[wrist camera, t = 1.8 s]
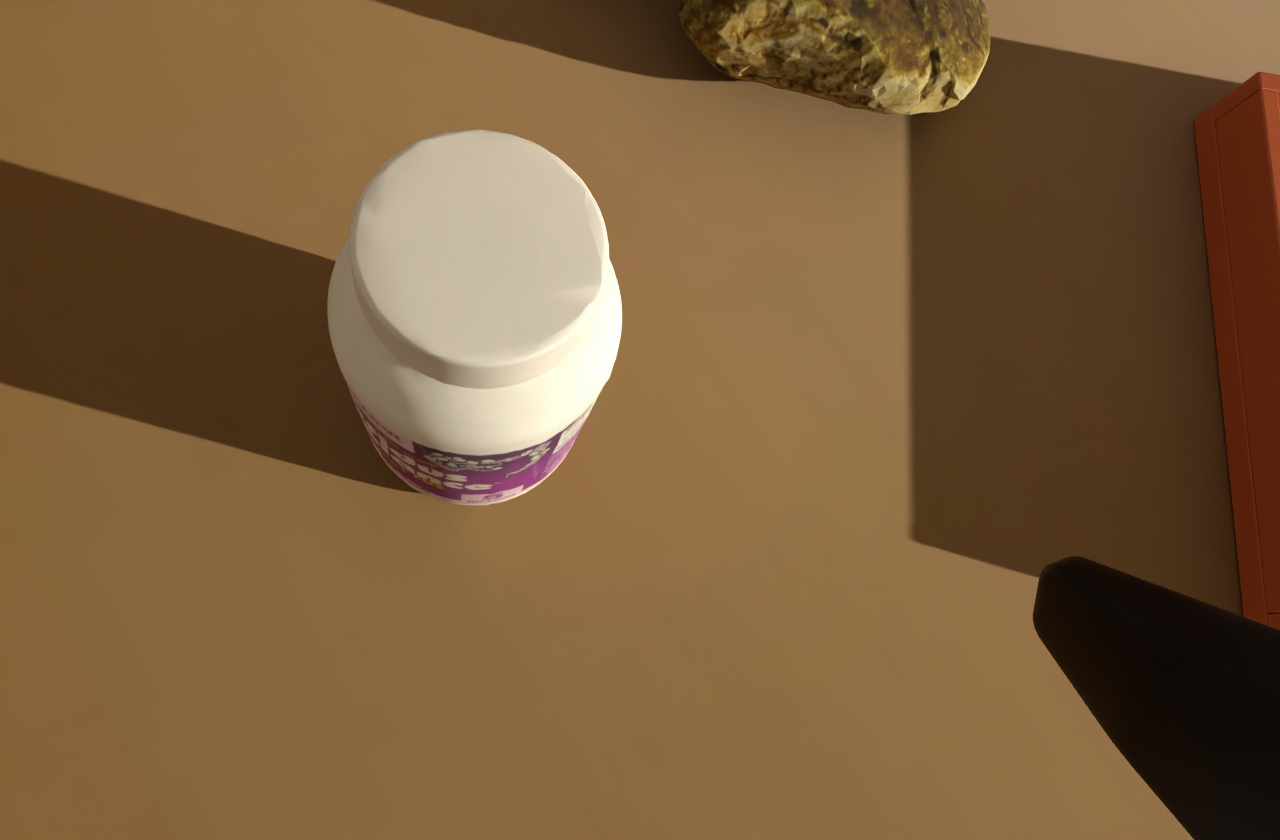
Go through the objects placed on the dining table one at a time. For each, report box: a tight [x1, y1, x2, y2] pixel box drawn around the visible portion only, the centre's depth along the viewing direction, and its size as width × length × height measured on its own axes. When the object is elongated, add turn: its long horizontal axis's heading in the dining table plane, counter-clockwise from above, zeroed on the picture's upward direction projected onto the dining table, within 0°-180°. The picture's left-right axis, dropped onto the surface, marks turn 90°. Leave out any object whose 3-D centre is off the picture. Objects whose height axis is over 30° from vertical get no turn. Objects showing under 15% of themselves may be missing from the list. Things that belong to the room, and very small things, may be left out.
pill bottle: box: [327, 130, 622, 505], centre depth 19 cm, size 5×5×10 cm
